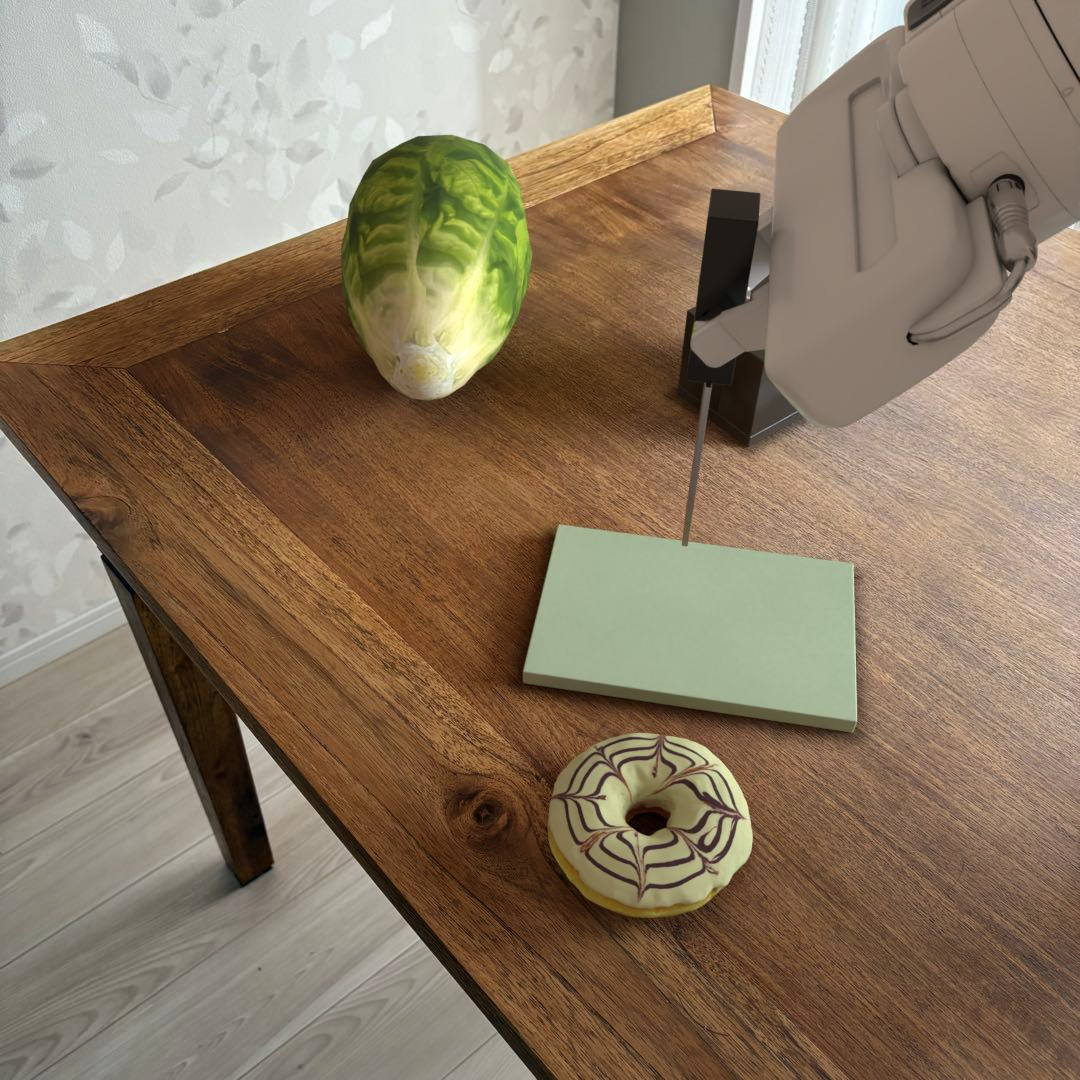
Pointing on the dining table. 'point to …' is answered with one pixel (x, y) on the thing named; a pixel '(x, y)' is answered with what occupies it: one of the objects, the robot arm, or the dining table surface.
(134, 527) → the dining table surface
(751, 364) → the knife block
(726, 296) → the knife
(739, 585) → the cutting board
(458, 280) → the lettuce
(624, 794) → the decorated donut
